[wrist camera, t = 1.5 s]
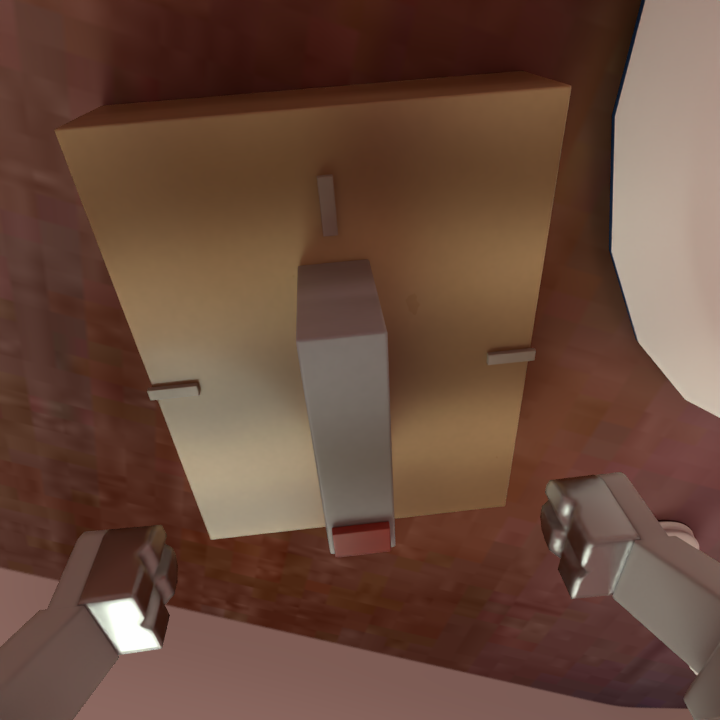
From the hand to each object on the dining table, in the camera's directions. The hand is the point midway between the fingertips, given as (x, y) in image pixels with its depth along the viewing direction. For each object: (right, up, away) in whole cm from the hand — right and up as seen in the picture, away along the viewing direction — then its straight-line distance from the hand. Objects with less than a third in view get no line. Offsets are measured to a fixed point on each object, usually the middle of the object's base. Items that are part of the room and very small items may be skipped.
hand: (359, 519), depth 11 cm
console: (-1, +5, +6) cm, 8 cm away
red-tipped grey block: (0, +3, +4) cm, 5 cm away
